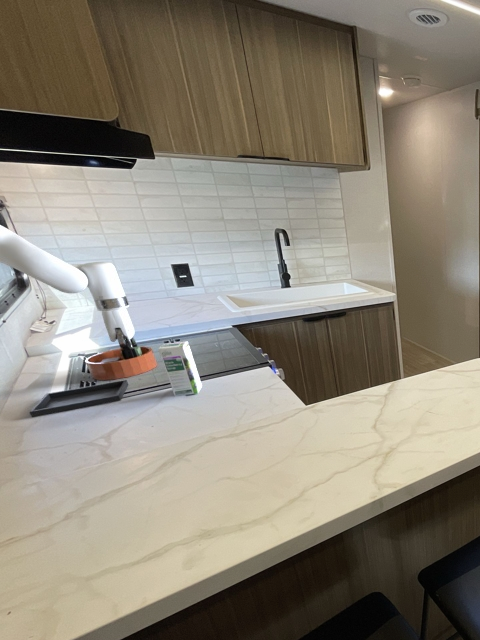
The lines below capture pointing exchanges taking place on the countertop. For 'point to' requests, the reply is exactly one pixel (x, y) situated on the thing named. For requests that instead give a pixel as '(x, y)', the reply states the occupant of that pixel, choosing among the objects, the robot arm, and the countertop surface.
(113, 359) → the walnut block
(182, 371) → the syrup box
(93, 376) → the bowl
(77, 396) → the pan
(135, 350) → the sage block
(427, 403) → the countertop surface
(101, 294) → the robot arm
